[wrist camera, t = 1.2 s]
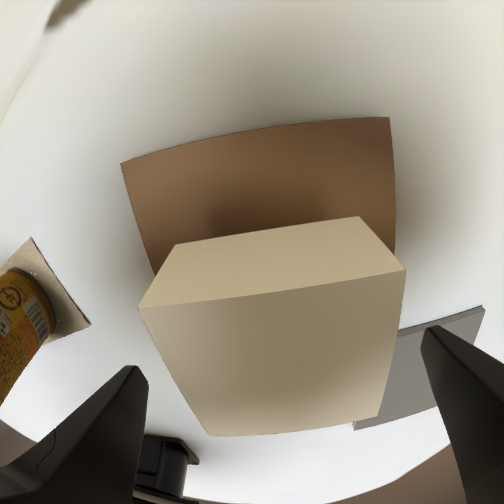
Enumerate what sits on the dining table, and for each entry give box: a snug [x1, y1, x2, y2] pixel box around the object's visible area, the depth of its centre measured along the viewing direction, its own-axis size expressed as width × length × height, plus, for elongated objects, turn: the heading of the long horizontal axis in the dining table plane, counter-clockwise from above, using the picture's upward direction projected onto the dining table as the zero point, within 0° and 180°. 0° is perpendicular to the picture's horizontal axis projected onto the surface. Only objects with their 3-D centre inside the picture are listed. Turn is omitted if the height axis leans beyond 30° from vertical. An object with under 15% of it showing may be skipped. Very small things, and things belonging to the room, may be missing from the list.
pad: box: [353, 306, 485, 431], centre depth 18 cm, size 12×10×1 cm
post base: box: [120, 117, 395, 277], centre depth 11 cm, size 12×12×7 cm
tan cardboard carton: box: [137, 216, 406, 436], centre depth 9 cm, size 6×6×4 cm
